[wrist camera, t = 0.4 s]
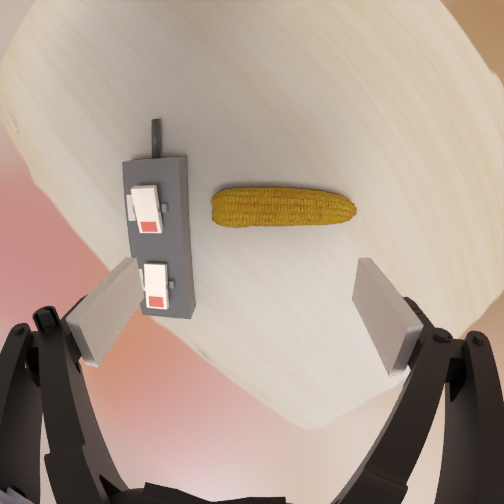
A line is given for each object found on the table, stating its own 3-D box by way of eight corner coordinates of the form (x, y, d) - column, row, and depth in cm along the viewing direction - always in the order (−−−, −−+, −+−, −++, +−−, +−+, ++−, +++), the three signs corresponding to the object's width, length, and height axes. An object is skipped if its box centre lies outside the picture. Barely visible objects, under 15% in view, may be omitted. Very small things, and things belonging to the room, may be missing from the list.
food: (217, 222, 42) (210, 233, 37) (214, 186, 40) (206, 192, 35) (350, 220, 41) (362, 231, 36) (352, 185, 39) (365, 191, 34)
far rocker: (145, 262, 40) (142, 264, 39) (167, 263, 40) (165, 265, 39) (148, 305, 41) (145, 307, 40) (169, 307, 41) (167, 309, 40)
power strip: (133, 123, 36) (118, 122, 32) (187, 117, 36) (177, 114, 31) (150, 302, 48) (140, 317, 44) (195, 306, 48) (189, 322, 43)
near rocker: (132, 186, 34) (129, 189, 33) (157, 184, 34) (154, 188, 33) (141, 229, 38) (138, 233, 37) (164, 229, 38) (162, 233, 37)
